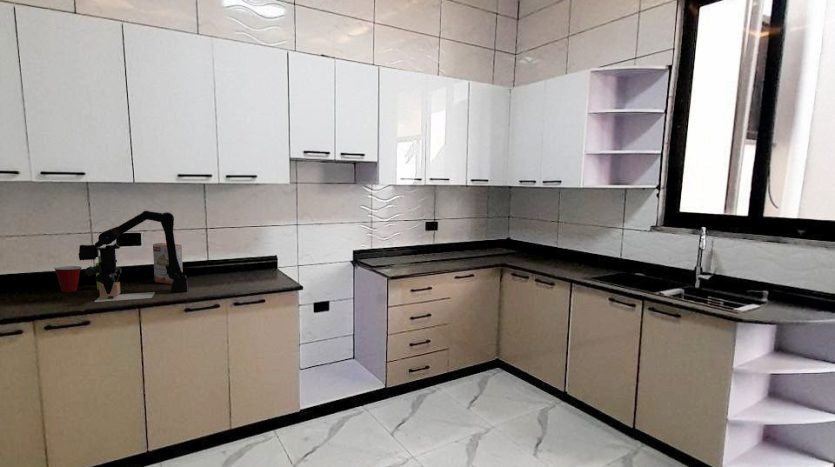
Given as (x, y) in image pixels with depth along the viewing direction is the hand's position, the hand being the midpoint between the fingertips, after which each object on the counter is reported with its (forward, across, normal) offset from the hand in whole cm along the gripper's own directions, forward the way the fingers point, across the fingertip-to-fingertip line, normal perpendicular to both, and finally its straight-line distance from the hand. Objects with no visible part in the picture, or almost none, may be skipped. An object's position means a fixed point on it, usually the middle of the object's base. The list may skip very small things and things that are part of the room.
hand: (110, 292), depth 201 cm
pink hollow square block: (+1, 0, 0) cm, 1 cm away
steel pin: (+4, 0, 0) cm, 4 cm away
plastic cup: (+4, -25, -22) cm, 34 cm away
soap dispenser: (+4, -25, -8) cm, 27 cm away
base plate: (+4, 0, +6) cm, 7 cm away
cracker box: (+4, -30, +20) cm, 36 cm away
